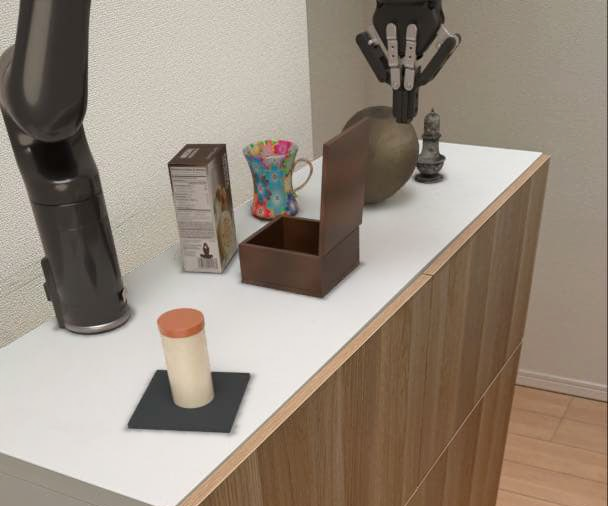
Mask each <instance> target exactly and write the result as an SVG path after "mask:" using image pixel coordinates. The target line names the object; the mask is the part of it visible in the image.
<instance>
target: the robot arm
mask: <svg viewBox="0 0 608 506" xmlns="http://www.w3.org/2000/svg"><path fill="white" fill-rule="evenodd" d="M375 1H376V2H375V3H376V5H375V10H374V12H373V14H372V18H371V19H372V20H371V21H372V23H370V25H369V26H367V28H366V29H364V30H363V31H361V32H359V33H358V34H356V36H355V43H356V45H357V47H358V48H359V50H360V51H361V53H362V55H363V57H364V59H365V60H366V62H367V64H368V65H369V67H370V69H371V70H372V72H373V73H374V76H375V77H376V79H377V80H378V82H379V83H380V84H383V83H385V84H387V85H389V86H390V87H391V90H392V104H391V105H392V114H393V117H394V118H396V123H401V124H409V123H410V122H411V123H412V122H413V121H414V118H416V117H417V115H418V113H419V96H420V87H422V86H426V85H427V84H429V83H431V82H432V81H434V80H435V78H436V77H437V75H438V74H439V73H440V72H441V70H442V68H443V67H444V66H445V65H446V63H447V62H448V61H449V59H450V58H451V56H452V55H453V54H454V52H455V51H456V49H457V48H458V47H459V45H461V44H462V43H461V42H462V36H461V34H460V33H453V32H452V30H451V29H450V28H449V27H448V26H447V25H446V24H445V23H446V16H445V12H444V10H443V6H442V4H443V3H442V2H443V0H375ZM91 7H92V0H19V5H18V17H17V24H16V32H15V38H14V39H15V40H14V44H11V45H10V46H8V47H7V48H6V49H5V50H4V51H3V52H2V53H1V55H0V112H1V117H2V120H3V123H4V126H5V129H6V130H5V131H6V133H7V137H8V141H9V143H10V147H11V149H12V153H13V156H14V159H15V163H16V166H17V169H18V171H19V173H20V174H19V175H20V177H21V179H22V182H23V184H24V187H25V190H26V194H27V197H28V200H29V204H30V207H31V211H32V215H33V218H34V222H35V225H36V228H37V232H38V235H39V239H40V243H41V245H42V249H43V253H44V256H43V257H42V258H41V260H40V266H41V269H42V274H43V276H44V280H45V282H44V283H43V284H42V286H43V289H44V293H45V297H46V300H47V302H51V304H52V308H53V310H54V314H55V318H56V322H57V326H58V327H59V328H66V329H67V330H68V331H70V332H74V333H78V334H96V333H102V332H106V331H111V330H113V329H116V328H119V326H122V325H123V324H124V323H125V322H127V321H128V319H129V318H130V316H131V310H130V309H131V308H130V305H129V304H128V297H127V296H128V292H129V290H128V287H127V282H125V283H124V279H123V276H122V271H121V268H120V267H121V266H120V263H119V258H118V255H117V249H116V244H115V239H114V235H113V231H112V226H111V221H110V217H109V213H108V212H109V211H108V209H107V208H108V207H107V203H106V199H105V194H104V190H103V185H102V181H101V176H100V170H99V168H98V165H97V162H96V161H95V158H94V155H93V153H92V151H91V147H90V145H89V142H88V138H87V135H86V131H85V126H84V120H85V117H86V115H87V111H88V103H89V52H90V51H89V50H90V49H89V48H90V46H89V45H90V44H89V43H90V17H91ZM436 38H437V40H436ZM435 40H436V42H435V48H436V51H435V54H434V55H433V56H432V58H431V59H430V61H429V62H428V63H427V64H426V66H425V67H424V69H423V66H424V63H425V59H426V52H427V51H428V50H429V49H430V48H431V46H432V44H433V43H434V41H435ZM380 41H381V42H382V44H383V46H384V48H385V50H386V52H387V55H386V53H385V51H384V49H383V48H382V46H381V45H380Z"/></svg>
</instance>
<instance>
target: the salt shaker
mask: <svg viewBox="0 0 608 506" xmlns="http://www.w3.org/2000/svg"><path fill="white" fill-rule="evenodd" d="M440 127H441V116H440V115H439V114H438V113H437V112H435V108H434V107H431V109H430V112H429V113H427V114H425V116H424V118H423V132H422V134H421V135H420V138H422V144H421V145H422V146H421V150H420V152H419V156H418V161H417V165H416V168H415V169H416V170H417V171H418V172H419V173H417V174H416V175H415V176H414V180H415V181H416V182H418V183H421V184H435V183H439V182H441V181H443V179H444V176H443V175H442V174H440V173H439V172H440V171H441V170H442V169H443V167H444V165H445V161H446V160H447V157H446V156H445V155H444V154H442V153H440V139H441V137H442V134H441V133H440Z"/></svg>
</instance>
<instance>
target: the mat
mask: <svg viewBox="0 0 608 506" xmlns="http://www.w3.org/2000/svg"><path fill="white" fill-rule="evenodd" d="M211 374H212V381H213V387H214V394H215V395H214V398H213V400H212V401H211V402H210V403H208V404H206V405H204V406H202V407H198V408H183V407H179V406H177V405H176V404H175V403H174V402H173V398H172V393H171V388H170V383H169V377H168V372H167V369H156V371H155V373H154V374H153V376H152V378H151V380H150V382H149V383H148V385H147V387H146V389H145V391H144V393H143V395H142V396H141V399H139V402H138V404H137V406H136V407H135V409H134V410H133V413H132V415H131V417H130V418H129V421H128V423H127V427H128V429H142V430H143V429H144V430H145V429H147V430H164V431H165V430H166V431H167V430H168V431H189V432H207V433H208V432H210V433H211V432H212V433H230V432H231V430H232V427H233V425H234V422H235V419H236V416H237V414H238V410H239V408H240V406H241V403H242V399H243V397H244V395H245V392H246V390H247V387H248V383H249V380H250V378H251V373H250V372H238V371H237V372H235V371H211Z"/></svg>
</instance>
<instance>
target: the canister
mask: <svg viewBox="0 0 608 506" xmlns="http://www.w3.org/2000/svg"><path fill="white" fill-rule="evenodd" d="M156 325H157V329H158V333H159V336H160V340H161V347H162V350H163V356H164V361H165V368H166V370H167V372H168V377H169V383H170V388H171V393H172V398H173V402H174V403H175V404H176V405H177V406H179V407H183V408H198V407H202V406H204V405H206V404H208V403H210V402H211V401H212V400H213V398H214V395H215V394H214V387H213V381H212V374H211V372H212V368H211V361H210V355H209V349H208V341H207V334H206V327H205V326H206V322H205V315H204V313H203V312H202V311H201V310H198V309H196V308H190V307H180V308H174V309H169V310H167V311H165V312H163V313H161V314H160V315H159V316H158V318H157V319H156Z"/></svg>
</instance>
